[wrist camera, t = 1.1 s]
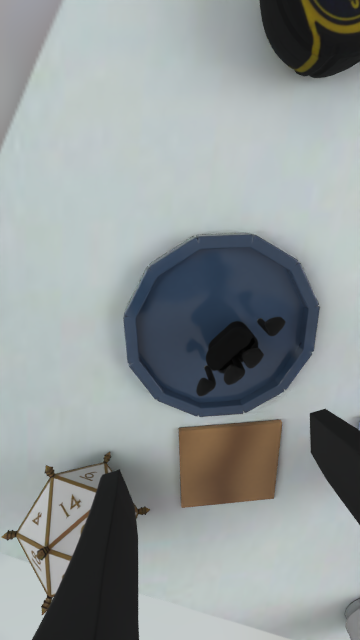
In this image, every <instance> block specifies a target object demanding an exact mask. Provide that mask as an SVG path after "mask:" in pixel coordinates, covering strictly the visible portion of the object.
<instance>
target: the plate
mask: <svg viewBox="0 0 360 640" xmlns="http://www.w3.org/2000/svg"><path fill="white" fill-rule="evenodd" d="M318 305H319V303H318V301H317V298H316V296H315V294H314V292H313V290H312V288H311V285H310V283H309V281H308V279H307V277H306V274H305V272H304V270H303V268H302V266H301V264H300V262H298V260H297V259H295V258H294V257H292V256H290V255H288V254H287V253H285V252H283V251H282V250H280V249H278V248H277V247H275V246H273V245H272V244H270V243H268V242H267V241H265V240H263V239H262V238H260V237H258V236H257V235H253V234H249V233H230V234H202V235H196V237H195V236H192V237H190V238H189V239H187V240H186V241H184V242H183V243H181V244H180V245H178V246H176V247H175V248H173V249H172V250H170V251H169V252H167V253H165V254H164V255H162V256H161V257H159V258H158V259H156V260H155V261H153V262H151V263H150V264H149V266H147V267H146V269H145V271H144V273H143V275H142V277H141V279H140V281H139V283H138V285H137V287H136V289H135V291H134V293H133V295H132V297H131V299H130V301H129V303H128V305H127V307H126V309H125V313H124V318H123V319H124V329H125V340H126V350H127V360H128V363H129V367H130V368H131V369H132V370H133V372H134V373H135V374H136V375H137V377H138V378H139V379H140V381H141V382H142V383H143V384H144V386H145V387H146V388H147V389H148V391H149V392H150V393H151V395H152V396H153V397H154V398H155V399H157V400H158V401H159V402H162V403H164V404H167V405H169V406H172V407H174V408H177V409H179V410H182V411H184V412H187V413H189V414H192V415H194V416H198V415H199V417H206V416H219V415H231V414H243V411H244V412H245V413H246V412H248V411H250V410H252V409H253V408H255V407H257V406H259V405H261V404H262V403H264V402H266V401H268V400H270V399H271V398H273V397H275V396H277V395H279V394H280V393H282V392H284V389H285V390H286V389H287V388H288V387H289V385H290V384H291V382H292V381H293V380H294V378H295V377H296V376H297V374H298V373H299V371H300V370H301V369H302V367H303V366H304V365H305V363H306V362H307V360H308V359H309V358H310V356H311V355H312V352H313V351H314V345H315V337H316V330H317V323H318V316H319V309H320V307H319V306H318ZM274 317H282V318H283V319H284V320H285V325H284V327H283V328H282V329H281V330H280V331H279V333H278V334H277V335H275V336H269V335H268V334H267V333H266V332H265V331H264V330H263V329H262V328H261V327H260V325H259V324H258V323H257V320H258V319H259V318H262V319H263V320H264V321H265V322H266V321H267V320H269V319H271V318H274ZM235 321H240V322H243V323H244V324H245V325H246V326H247V327H248V328H249V330H250V331H251V332H252V333H253V335H254V336H255V337H256V338H257V340H258V348H260V350H261V351H262V352H263V354H264V356H263V358H262V360H261V361H260V362H259V363H258V364H257V365H256V366H255V367H254V368H248V367H247V366H246V365H245V363H244V361H243V362H242V365H243V367H244V369H245V375H244V376H243V377H242V378H241V379H240V380H239V381H237V382H236V383H234V384H232V385H227V384H226V383H225V382H224V373H220V372H218V371H217V370H216V371H213V370H212V369H211V370H212V372H213V375H214V378H215V380H216V386H215V388H214V389H213V390H212V391H210V392H209V393H208V394H206V395H204V396H198V394H197V392H196V389H197V385H198V383H199V381H200V379H201V378H206V379H208V378H207V375H206V372H205V369H204V368H205V366H207V363H206V354H207V352H208V347H209V343H210V342H211V341H212V340H213V339H214V338H215V337H216V336H217V335H218V334H219V333H220V332H221V331H222V330H224V329H225V328H226V327H227V326H228V325H229V324H230V323H232V322H235Z"/></svg>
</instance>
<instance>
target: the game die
mask: <svg viewBox="0 0 360 640" xmlns="http://www.w3.org/2000/svg"><path fill="white" fill-rule="evenodd" d="M110 458H111V455H110V452H109V453H107V454H106V455H105V457H104V458H103V459H104V461H103V462H102V463H98V464H94V465H90V466H86V467H82V468H78V469H73V470H69V471H65V472H61V473H57V474H54V470H53V467H49V466H47V465H46V470H45V473H46V474H47V476H49V477H50V478H49V480H48V481H47V483H46V485H45V486H44V488H43V490H42V491H41V493H40V494H39V496H38V498H37V499H36V501H35V503H34V504H33V506H32V508H31V509H30V511H29V512H28V514H27V516H26V517H25V519H24V521H23V522H22V524H21V525H20V527H19V529H18V530H17V531H13V530H12V531H9V530H8V532H7V533H6V534H4V535H3V536H2V538H4V539H7V540H9V539H13V538H14V537H17V539H18V541H19V543H20V545H21V547H22V548H23V550H24V552H25V554H26V556H27V558H28V560H29V562H30V564H31V565H32V567H33V569H34V571H35V573H36V575H37V577H38V578H39V580H40V582H41V584H42V586H43V588H44V590H45V592H46V594H47V598H46V600H44V604H43V605H42V606H41V607H42V615H43V614H44V613H45V612H46V611H47V610H48V608H49V606H50V604H51V601H52V598H53V597H54V596H55V594H56V591H57V589H58V587H59V585H60V583H61V581H62V578H63V576H64V574H65V572H66V569H67V567H68V565H69V562H70V560H71V558H72V555H73V553H74V551H75V548H76V546H77V543H78V541H79V538H80V536H81V533H82V530H83V528H84V525H85V522H86V520H87V517H88V514H89V511H90V509H91V506H92V503H93V500H94V497H95V494H96V491H97V488H98V484H99V481H100V478H101V476H102V475H103V474H106V473H109V472H112V470H111V469H110V467H109V466H108V464H107V463H108V461H110V460H109V459H110ZM134 506H135V504H134ZM149 510H150V509H148V508H146V507H143V508H142V507H141V508H140V509H137V507H136V506H135V514H136V518H137V516H138V515H139V514H141V515H143V514H145V515H146V513H147V512H148V511H149Z"/></svg>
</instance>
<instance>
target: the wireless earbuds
mask: <svg viewBox="0 0 360 640" xmlns="http://www.w3.org/2000/svg"><path fill="white" fill-rule="evenodd" d="M257 323H258V324H259V325H260V327H261V328H262V329H263V330H264V331H265V332H266V333H267V334H268V335H269V336H275V335H277V334H278V333H279V331H280V330H281V329H282V328H283V327H284V325H285V320H284V319H283V318H282V317H274V318H271V319H269V320H267V321H266V322H265V321H264V320H263V319H262V318H259V319H258V320H257ZM263 356H264V354H263V352H262V351H261V350H260V348H258V340H257V338H256V337H255V336H254V335H253V333H252V332H251V331H250V330H249V328H248V327H247V326H246V325H245V324H244V323H243V322H240V321H235V322H232V323H230V324H229V325H228V326H227V327H226V328H225V329H224V330H222V331H221V332H220V333H219V334H218V335H217V336H216V337H215V338H214V339H213V340H212V341H211V342H210V343H209V347H208V352H207V354H206V363H207V366H205V368H204V369H205V372H206V375H207V378H208V379H206V378H201V379H200V381H199V383H198V385H197V389H196V392H197V394H198V396H204V395H206V394H208V393H209V392H210V391H212V390H213V389H214V388H215V386H216V380H215V378H214V375H213V372H212V370H213V371H216V370H217V371H218V372H220V373H224V382H225V383H226V384H227V385H232V384H234V383H236V382H237V381H239V380H240V379H241V378H242V377H243V376H244V375H245V369H244V367H243V365H242V362H243V361H244V363H245V365H246V366H247V367H248V368H254V367H255V366H256V365H257V364H258V363H259V362H260V361H261V360H262V358H263ZM211 369H212V370H211Z"/></svg>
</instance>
